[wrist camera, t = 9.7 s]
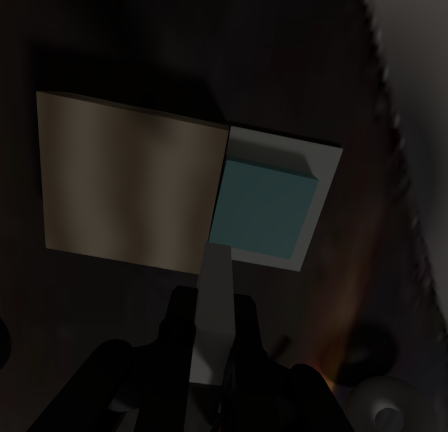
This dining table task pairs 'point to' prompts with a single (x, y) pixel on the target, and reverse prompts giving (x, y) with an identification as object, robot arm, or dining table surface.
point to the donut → (390, 405)
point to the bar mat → (295, 160)
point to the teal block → (261, 207)
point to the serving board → (127, 180)
